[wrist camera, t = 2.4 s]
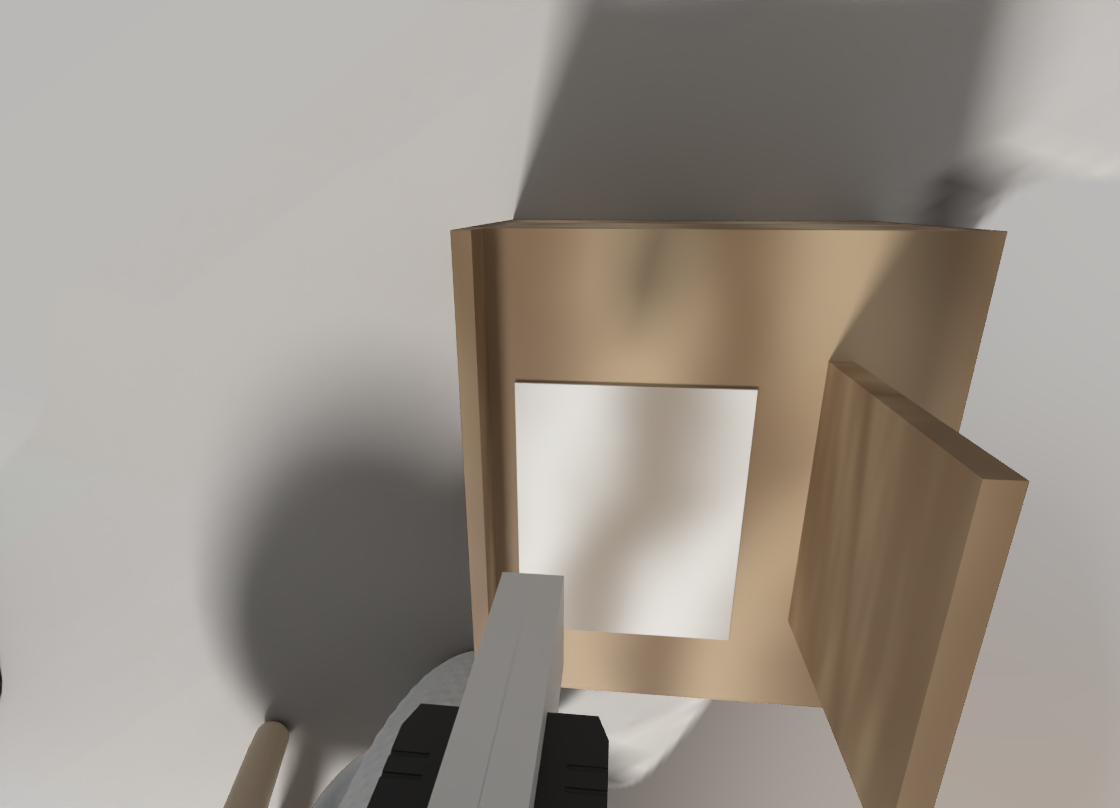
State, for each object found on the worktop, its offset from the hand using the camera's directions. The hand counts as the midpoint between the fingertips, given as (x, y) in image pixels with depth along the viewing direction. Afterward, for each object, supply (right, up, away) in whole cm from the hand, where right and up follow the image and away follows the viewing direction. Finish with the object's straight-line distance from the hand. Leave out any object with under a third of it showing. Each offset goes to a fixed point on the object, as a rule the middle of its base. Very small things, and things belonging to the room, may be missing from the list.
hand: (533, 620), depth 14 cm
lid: (+6, +2, +7) cm, 9 cm away
